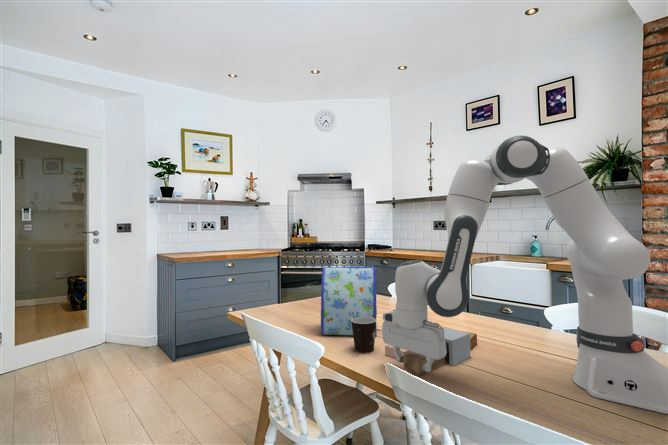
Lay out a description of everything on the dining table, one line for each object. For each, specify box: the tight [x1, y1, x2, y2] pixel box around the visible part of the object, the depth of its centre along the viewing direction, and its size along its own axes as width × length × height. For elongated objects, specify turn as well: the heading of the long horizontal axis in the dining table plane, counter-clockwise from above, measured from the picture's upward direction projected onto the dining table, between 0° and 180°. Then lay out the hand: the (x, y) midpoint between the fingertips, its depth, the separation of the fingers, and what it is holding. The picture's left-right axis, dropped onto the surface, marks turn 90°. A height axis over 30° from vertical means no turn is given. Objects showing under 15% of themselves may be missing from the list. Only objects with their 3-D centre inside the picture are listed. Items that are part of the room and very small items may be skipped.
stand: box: [384, 344, 411, 360], centre depth 115 cm, size 8×8×3 cm
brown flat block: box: [460, 330, 478, 352], centre depth 126 cm, size 8×16×4 cm, turn 53°
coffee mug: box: [351, 317, 377, 354], centre depth 120 cm, size 12×9×10 cm
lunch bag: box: [320, 265, 378, 337], centre depth 143 cm, size 22×17×26 cm
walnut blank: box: [403, 352, 446, 377], centre depth 105 cm, size 5×13×5 cm, turn 130°
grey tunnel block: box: [442, 327, 472, 367], centre depth 113 cm, size 9×10×8 cm
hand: (413, 366), depth 101 cm, fingers open, 8 cm apart
